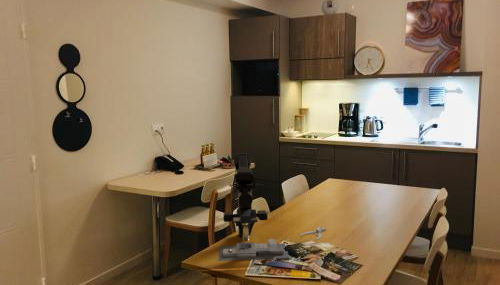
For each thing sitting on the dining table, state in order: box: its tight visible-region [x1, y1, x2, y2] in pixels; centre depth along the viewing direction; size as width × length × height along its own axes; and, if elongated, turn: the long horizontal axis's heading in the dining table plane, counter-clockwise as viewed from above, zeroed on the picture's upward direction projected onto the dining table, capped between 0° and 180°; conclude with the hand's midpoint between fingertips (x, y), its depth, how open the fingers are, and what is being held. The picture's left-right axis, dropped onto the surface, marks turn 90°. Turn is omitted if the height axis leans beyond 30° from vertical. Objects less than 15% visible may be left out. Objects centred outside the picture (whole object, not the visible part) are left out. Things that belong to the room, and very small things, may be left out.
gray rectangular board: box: [217, 243, 290, 262], centre depth 180 cm, size 16×30×1 cm, turn 93°
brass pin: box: [242, 223, 250, 242], centre depth 176 cm, size 3×3×7 cm
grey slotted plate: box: [223, 247, 284, 258], centre depth 178 cm, size 8×26×2 cm, turn 93°
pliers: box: [299, 226, 327, 241], centre depth 202 cm, size 10×2×15 cm
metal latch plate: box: [236, 238, 278, 254], centre depth 177 cm, size 8×17×3 cm, turn 93°
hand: (245, 235), depth 177 cm, fingers closed on brass pin, 3 cm apart
